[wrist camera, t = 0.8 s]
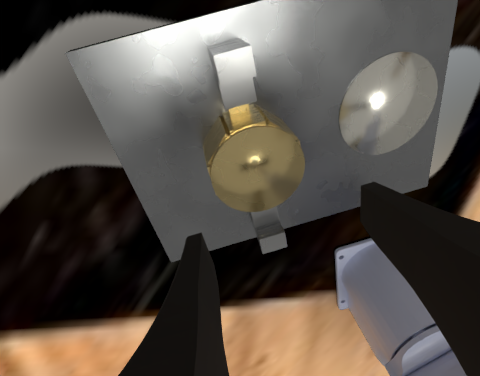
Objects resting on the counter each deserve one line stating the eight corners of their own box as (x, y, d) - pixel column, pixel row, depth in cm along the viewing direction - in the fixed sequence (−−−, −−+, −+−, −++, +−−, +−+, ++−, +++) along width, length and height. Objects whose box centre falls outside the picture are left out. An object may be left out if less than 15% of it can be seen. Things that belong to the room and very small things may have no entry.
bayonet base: (419, 180, 26) (458, 209, 22) (171, 253, 25) (170, 295, 22) (452, -52, 17) (526, -65, 13) (70, 50, 16) (41, 65, 13)
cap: (293, 190, 23) (311, 218, 20) (223, 210, 23) (230, 242, 20) (276, 67, 18) (296, 81, 15) (185, 92, 18) (188, 111, 15)
